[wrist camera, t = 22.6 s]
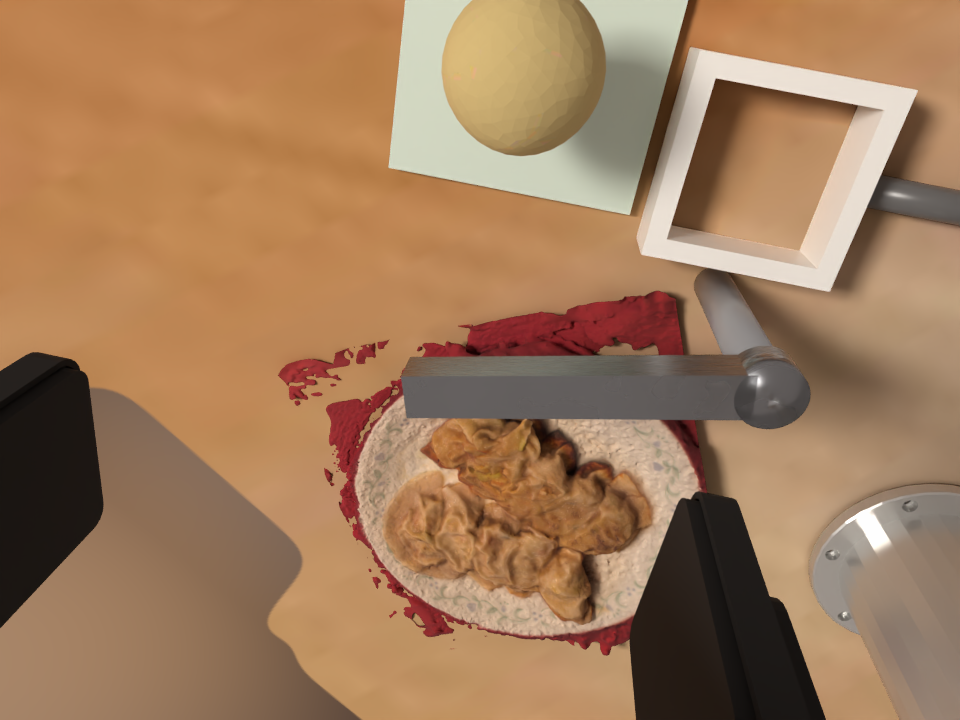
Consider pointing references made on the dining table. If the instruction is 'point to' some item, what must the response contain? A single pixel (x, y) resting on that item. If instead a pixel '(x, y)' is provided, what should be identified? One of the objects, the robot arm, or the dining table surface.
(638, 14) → the mat
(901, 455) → the dining table surface
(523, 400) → the silver metal bar
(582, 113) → the light bulb
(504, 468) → the plate with food
